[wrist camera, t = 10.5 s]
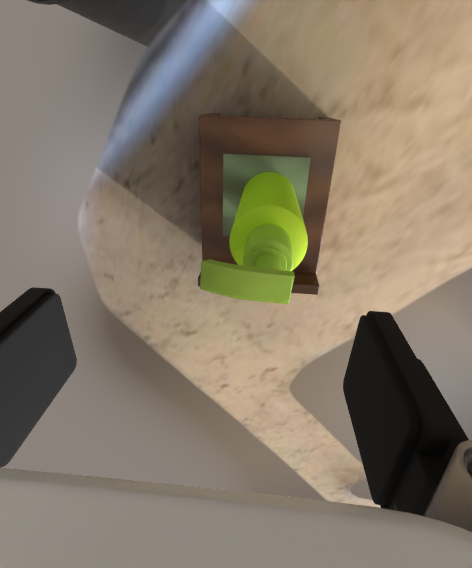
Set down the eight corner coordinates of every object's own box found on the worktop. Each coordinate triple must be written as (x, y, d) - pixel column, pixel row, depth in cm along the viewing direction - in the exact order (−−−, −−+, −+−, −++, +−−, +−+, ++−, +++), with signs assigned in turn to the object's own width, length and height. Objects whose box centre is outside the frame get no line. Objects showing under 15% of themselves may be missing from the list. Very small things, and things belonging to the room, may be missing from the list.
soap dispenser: (235, 167, 35) (202, 230, 18) (300, 175, 35) (332, 248, 17) (229, 220, 38) (196, 320, 20) (290, 228, 38) (307, 336, 20)
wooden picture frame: (210, 113, 40) (193, 116, 31) (329, 117, 39) (347, 121, 30) (211, 252, 48) (198, 286, 39) (308, 258, 47) (318, 294, 38)
